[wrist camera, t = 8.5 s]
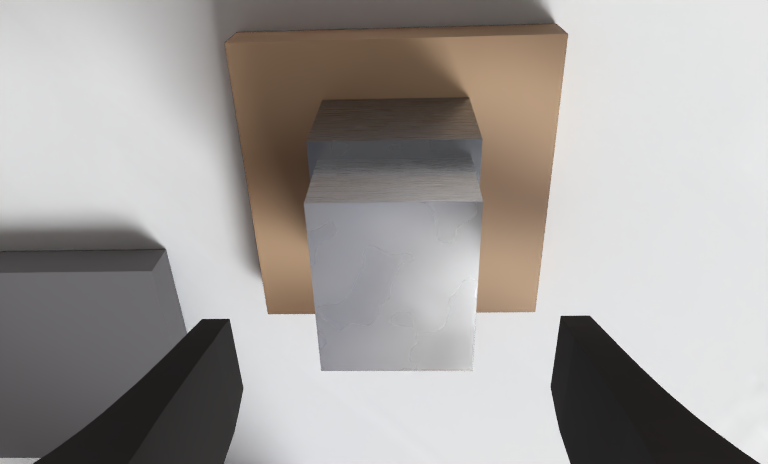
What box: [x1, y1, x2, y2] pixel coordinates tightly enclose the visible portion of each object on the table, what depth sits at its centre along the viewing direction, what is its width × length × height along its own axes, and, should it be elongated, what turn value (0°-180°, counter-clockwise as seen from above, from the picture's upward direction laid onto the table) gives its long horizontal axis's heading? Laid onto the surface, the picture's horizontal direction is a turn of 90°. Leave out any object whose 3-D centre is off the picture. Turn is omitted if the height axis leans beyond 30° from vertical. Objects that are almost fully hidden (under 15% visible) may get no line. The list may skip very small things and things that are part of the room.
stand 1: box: [0, 250, 187, 458], centre depth 25 cm, size 10×10×2 cm
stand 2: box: [225, 24, 568, 314], centre depth 21 cm, size 10×10×2 cm
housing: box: [304, 97, 483, 371], centre depth 17 cm, size 6×4×6 cm
